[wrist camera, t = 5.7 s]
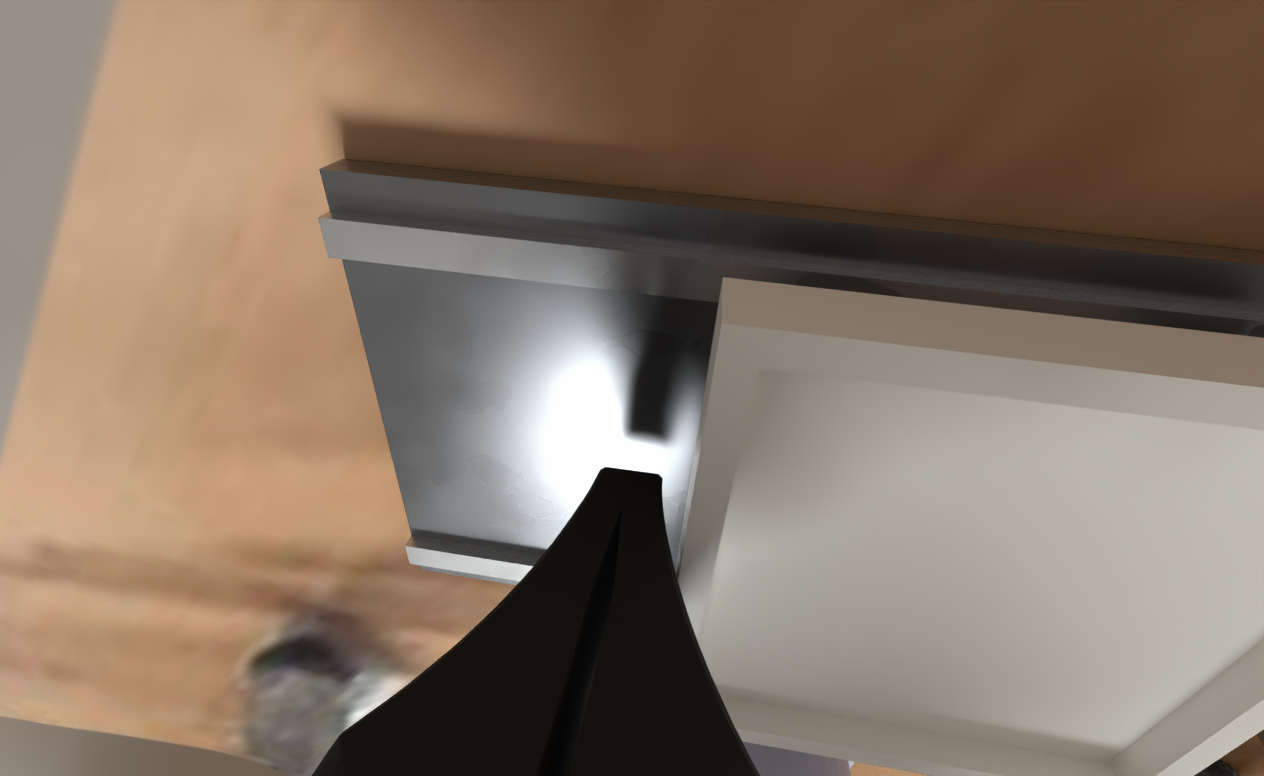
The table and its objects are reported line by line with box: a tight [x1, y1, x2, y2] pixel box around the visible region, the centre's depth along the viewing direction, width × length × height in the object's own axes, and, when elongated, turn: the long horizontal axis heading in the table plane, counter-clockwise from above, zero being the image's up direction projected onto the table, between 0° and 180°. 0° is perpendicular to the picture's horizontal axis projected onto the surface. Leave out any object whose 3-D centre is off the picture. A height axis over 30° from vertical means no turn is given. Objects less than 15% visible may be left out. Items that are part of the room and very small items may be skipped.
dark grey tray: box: [318, 159, 1264, 744], centre depth 13 cm, size 12×24×2 cm, turn 87°
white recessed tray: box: [675, 276, 1264, 776], centre depth 11 cm, size 11×11×3 cm
